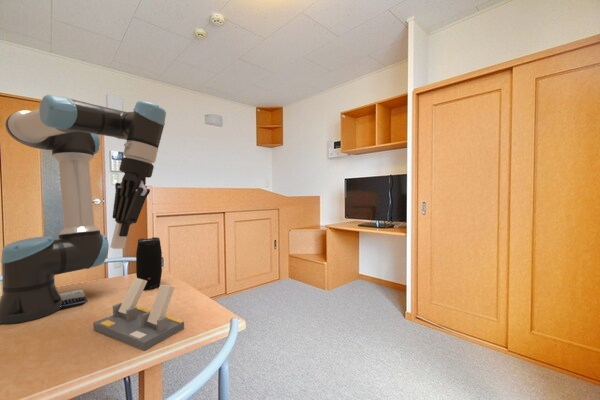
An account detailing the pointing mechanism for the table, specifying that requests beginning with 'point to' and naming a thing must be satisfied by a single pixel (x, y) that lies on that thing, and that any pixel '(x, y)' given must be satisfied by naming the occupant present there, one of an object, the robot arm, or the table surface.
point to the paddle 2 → (160, 304)
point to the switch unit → (137, 327)
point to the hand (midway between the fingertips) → (117, 247)
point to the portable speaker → (149, 261)
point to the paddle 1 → (132, 295)
